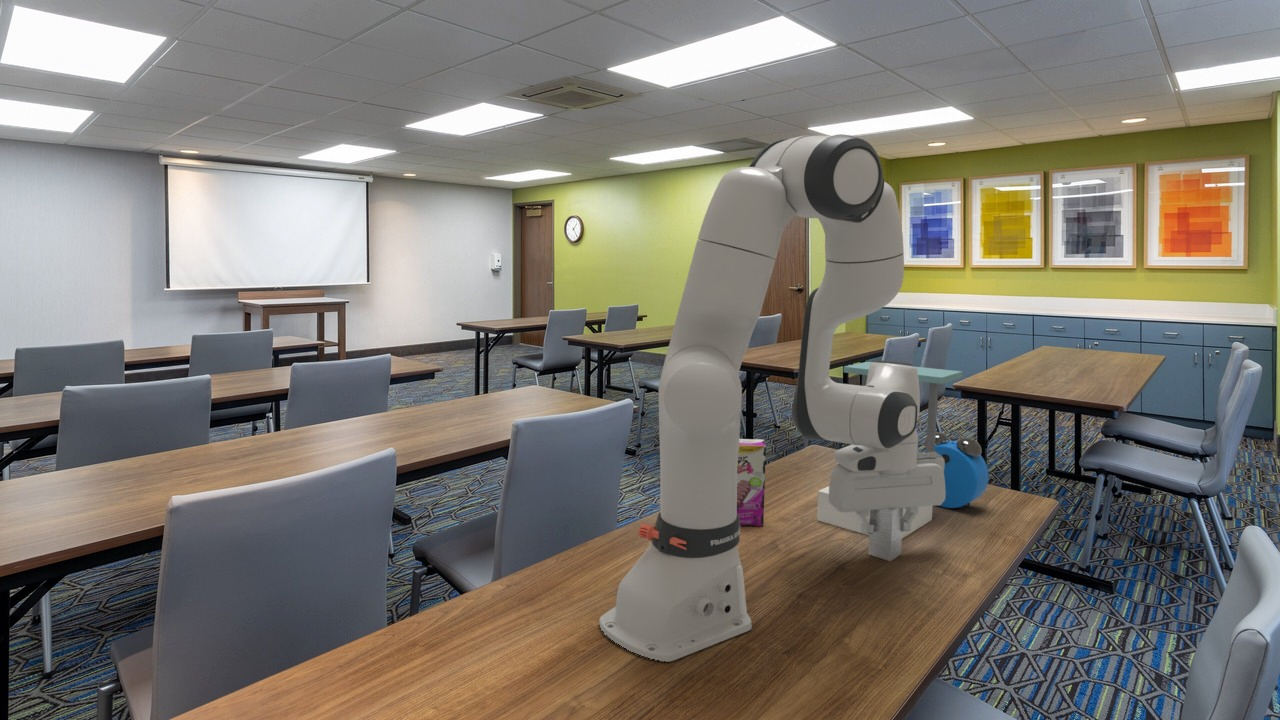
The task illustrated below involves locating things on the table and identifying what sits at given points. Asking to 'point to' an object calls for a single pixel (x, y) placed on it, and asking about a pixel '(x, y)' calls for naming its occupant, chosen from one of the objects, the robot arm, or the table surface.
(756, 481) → the candy bar box
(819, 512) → the socket block
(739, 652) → the table surface
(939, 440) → the alarm clock
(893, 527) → the steel peg
